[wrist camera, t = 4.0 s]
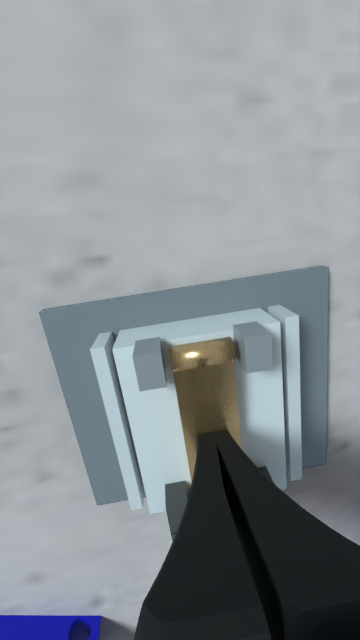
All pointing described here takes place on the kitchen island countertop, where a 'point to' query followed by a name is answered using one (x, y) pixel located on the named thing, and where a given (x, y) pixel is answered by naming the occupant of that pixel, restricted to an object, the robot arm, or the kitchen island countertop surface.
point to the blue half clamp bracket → (49, 627)
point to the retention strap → (205, 390)
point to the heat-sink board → (172, 305)
